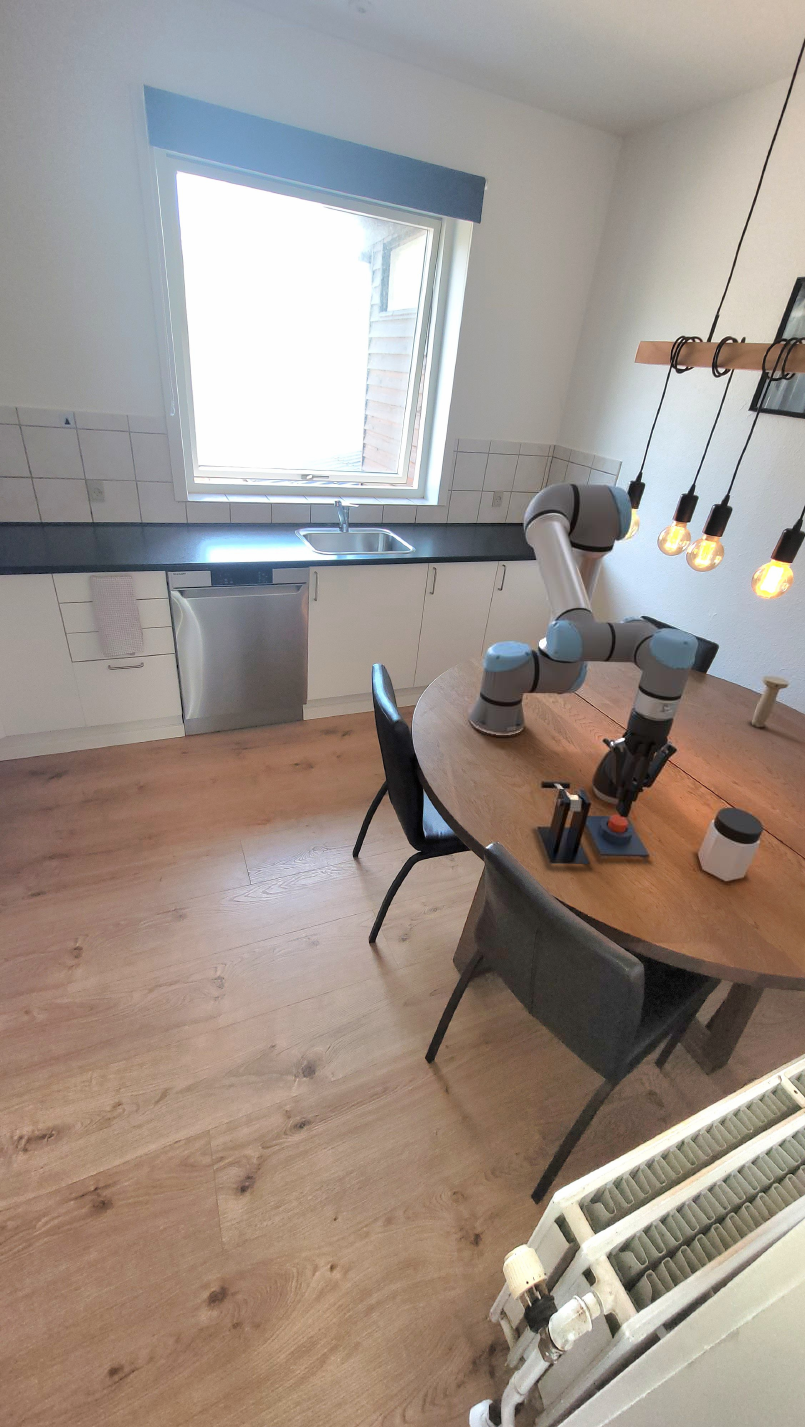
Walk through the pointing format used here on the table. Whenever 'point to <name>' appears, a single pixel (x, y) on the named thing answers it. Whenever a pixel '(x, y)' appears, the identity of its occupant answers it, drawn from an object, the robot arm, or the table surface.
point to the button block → (614, 838)
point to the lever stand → (566, 831)
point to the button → (617, 823)
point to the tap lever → (574, 799)
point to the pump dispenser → (606, 777)
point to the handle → (768, 699)
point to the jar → (730, 844)
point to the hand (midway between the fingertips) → (621, 812)
